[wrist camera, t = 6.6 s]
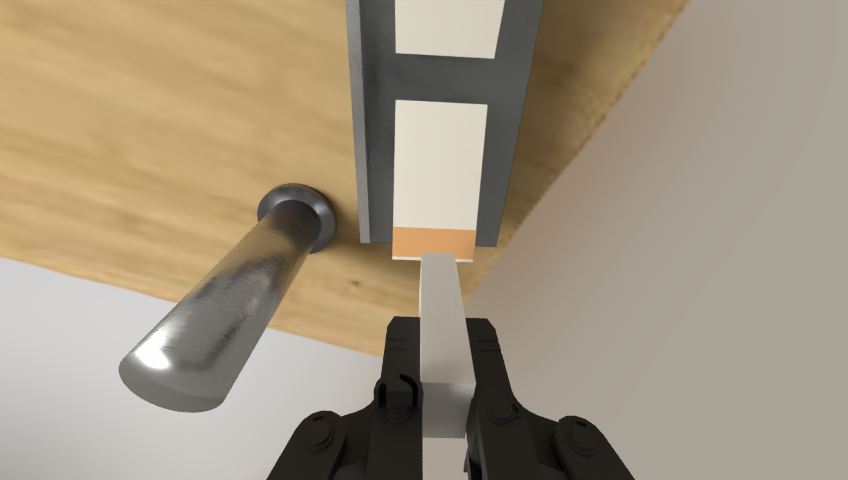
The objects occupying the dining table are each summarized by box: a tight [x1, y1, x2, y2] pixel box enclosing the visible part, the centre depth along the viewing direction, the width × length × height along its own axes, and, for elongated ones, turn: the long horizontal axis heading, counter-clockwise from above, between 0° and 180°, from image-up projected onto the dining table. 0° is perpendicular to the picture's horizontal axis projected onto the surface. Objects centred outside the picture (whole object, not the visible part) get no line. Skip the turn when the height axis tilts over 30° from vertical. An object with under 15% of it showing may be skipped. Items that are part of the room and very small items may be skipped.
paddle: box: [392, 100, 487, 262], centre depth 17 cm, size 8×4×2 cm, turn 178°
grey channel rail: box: [345, 0, 544, 247], centre depth 18 cm, size 20×9×6 cm, turn 177°
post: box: [119, 183, 337, 412], centre depth 19 cm, size 6×6×15 cm
